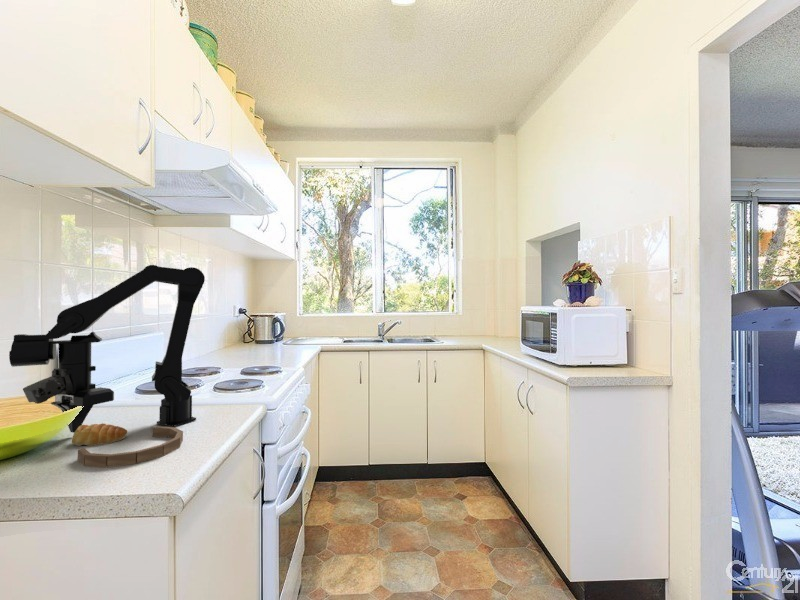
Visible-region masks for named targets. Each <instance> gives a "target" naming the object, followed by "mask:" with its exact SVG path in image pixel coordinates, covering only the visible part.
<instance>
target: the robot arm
mask: <svg viewBox="0 0 800 600" xmlns="http://www.w3.org/2000/svg"><path fill="white" fill-rule="evenodd" d="M205 279H206V278H205V274H204V272H203V271H202V270H200V269H199V268H197V267H192V266H191V267H186V268H185V269H182V268H181V269H180V268H174V267H173V268H172V267H165V266H164V267H163V266H158V265H156V264H155V265H154V264H149V265H147V266H145V267H144V268H143V269H142V270H140V271H139V272H137V273H135V274H134V275H132V276H130V277H128V278H127V279H125V280H123V281H122V282H120V283H118V284H116V285H115V286H113V287H112V288H110V289H108V290H107V291H105V292H103V293H101V294H100V295H98V296H96V297H93V298H92V299H91V298H90V299H88V300H86V301H84V302H81V303H77V304H75V305H73V306H70V307H68V308H65V309H63V310H62V311H61V312H59V314H57V318H56V324H55V325H54V326H53V327H52V328H51V329H50V330H48V332H47V333H46V334H23V333H22V334H19V333H18V334H14V335H13V341H12V342H11V343H12V344H11V347H10V350H9V355H8V356H9V364H10V365H11V367H12V368H13V367H30V366H46V365H47V366H48V365H49V363H50V361H51V360H56V358H57V345H58V358H57V359H58V360H57V361H58V364H57V365H58V366H57V367H56V368H53V370H52V371H51V376H49V377H45V378H43V379H41V380H38V381H37V382H34V383H32V384H29V385H27V386H25V387H23V388H22V391H23V393H24V395H25V397H26V398H27V401H28V402H29V403H35V404H39V405H40V404H42V403H45V402H47V401H48V400H49V399H51V398H53V397H54V401H53V402H52V401H51V402H50V404H51V405H52V406H55V407H57V408H58V409H60V410H61V412H62V413H63V412H64V411H67V410H70V409H73V408H75V407H77V406H82V407H83V406H84V407H83V408H82V410H81V411H80V412H79V414H78V415H77V416H76V417H75V419H74V420H73V421H72V422H71V423H70V424H69V425H68V424H67V426H68V430H69V432H70V433H73V434H74V432H75V431H76V430H77V428H78V427H79V426H81V425H83V424H84V422H85V420H86V419H87V418H86V417H88V414H89V413H90V411H91V409H92V408H93V406H94V405H99V404H104V403H109V402H113V401H115V391H114V390H112V389H111V388H108V387H107V388H106V387H101V386H100V387H96V383H92V372H95V371H96V370H97V369H96V367H97V366H96V365H92V343H100V342H101V341H102V340H103V338H102V337H100V336H98V335H97V334H96V332H94V331H91V332H90V333H89V334H85V335H83V334H82V335H81V334H79V335H71V337H70V339H67V340H66V339H64V340H63V339H62V340H57V339H61V338H63V337H66V336H67V335H69V334H78V333H82V332H85V331H87V330H88V329H90V328H91V327H92V326H93V325H94V324H95V323H96V322H98V321H99V320H100V319H102V317H103V316H104V315H105V314H106V313H108V311H110V310H111V309H113V308H114V307H116V306H118V305H119V304H120V303H122V302H124V301H126V300H127V299H129V298H130V297H132V296H133V295H136V294H137V293H138V292H140V291H142V290H144V289H145V288H146V287H148V286H150V285H151V284H153V283H163V284H168V285H175V286H177V304H176V307H175V312H174V316H173V321H172V323H171V324H172V325H171V330H170V333H169V338H168V343H167V346H166V351H165V355H164V356H163V359H162V360H161V362H160V361H155V365H154V367H155V368H154V373H153V374H152V375H151V381H152V382H154V389H155V390H156V392H158V393H159V394H160V395H163V396H164V398H162V399H161V400H160V406H159V420H158V421H156V425H157V424H158V425H162V426H166V427H177V426H180V425H183V424H186V423H190V422H193V421H197V417H196V416H195V417H194V416H193V395H192V391H191V388H190V386H189V385H188V384H187V383H186V382H184V381H183V379H182V378H183V353H184V349H185V345H186V341H187V337H188V333H189V327H190V322H191V319H192V314H193V309H194V305H195V303H196V301H197V299H198V297H199V295H200V293H201V291H202V288H203V285H204V284H205Z"/></svg>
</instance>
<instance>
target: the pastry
mask: <svg viewBox="0 0 800 600" xmlns="http://www.w3.org/2000/svg"><path fill="white" fill-rule="evenodd" d="M127 434H128V430H127V429H126V428H124V427H121V426H119V425H113V424H106V423H99V424H98V423H94V424H91V425H89V424H82V425H81V426H79V427H78V428H77V430H76V431H75V432H74V433H73V434H72V437H71V440H70V441H71V443H72V445H75V446H77V447H79V446H80V447H81V446H82V445H85V446H94V445H95V446H97V445H104V444H105V445H107V444H112V443H114V442H119V441H122V440H123V439H124V438H126V437H127Z"/></svg>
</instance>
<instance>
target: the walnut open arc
mask: <svg viewBox="0 0 800 600" xmlns="http://www.w3.org/2000/svg"><path fill="white" fill-rule="evenodd" d="M151 433H152V437H155V438H170V439H169V440H167V441H164V442H163V443H161V444H159V445H154V446H151V447H146V448H143V449H140V450H139V449H138V450H134V451H127V452H118V453H96V452H95V453H94V452H90V451H89V450H88V449H86V448H85V447H83V448H78V449H77V461H78V462H79V463H80V464H81V465H83V466H84V467H92V468H93V467H94V468H114V467H119V466H127V465H133V464H134V465H136V464H139V463H143V462H148V461H151V460H153V459H157V458H161V457H164V456H166V455H168V454H170V453H172V452H174V451H176V450H177V449H179V448H180V447H181V445H182V443H183V442H184V441H183V440H184V431H183V430H181V429H179V428H177V427H176V426H156V425H155V426H153V427H152V430H151Z"/></svg>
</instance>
